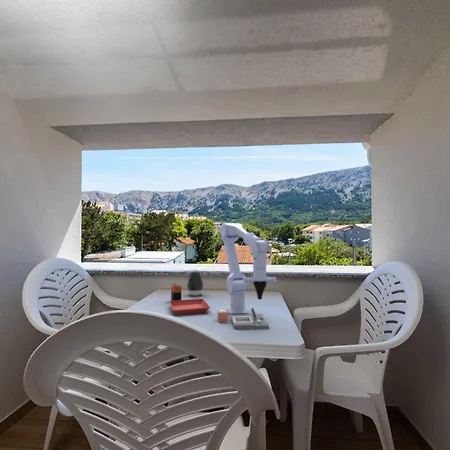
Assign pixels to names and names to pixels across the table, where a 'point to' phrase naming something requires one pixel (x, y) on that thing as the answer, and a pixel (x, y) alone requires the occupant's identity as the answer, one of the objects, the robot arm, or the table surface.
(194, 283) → the dark grey egg shape
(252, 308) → the lever
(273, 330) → the table surface
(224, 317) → the pink cube
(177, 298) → the battery
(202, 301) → the plant saucer
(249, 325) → the panel
